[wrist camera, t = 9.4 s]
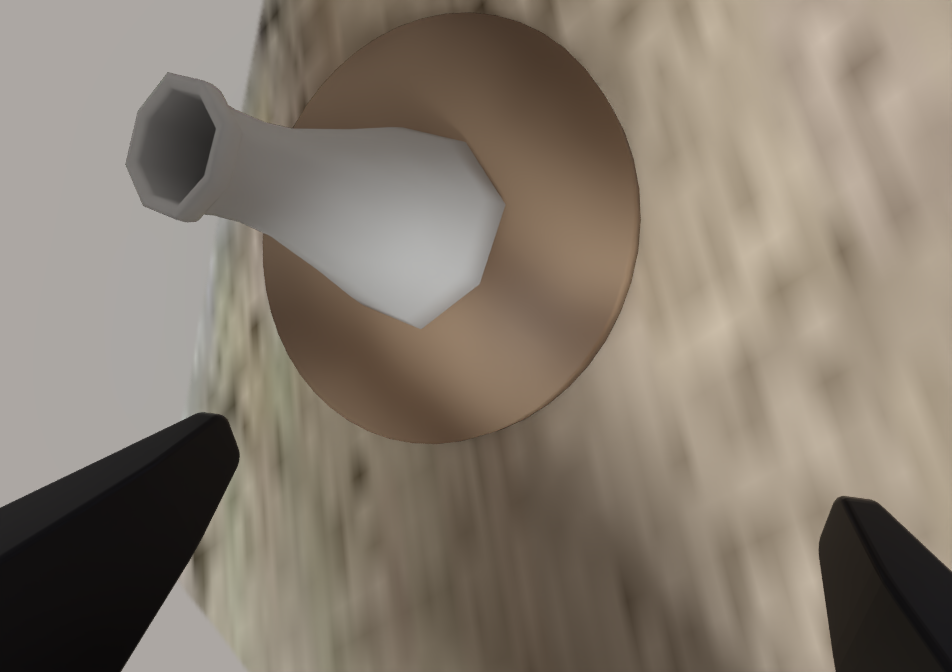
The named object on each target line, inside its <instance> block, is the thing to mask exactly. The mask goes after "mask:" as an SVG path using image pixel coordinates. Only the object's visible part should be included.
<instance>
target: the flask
mask: <svg viewBox="0 0 952 672" xmlns="http://www.w3.org/2000/svg"><path fill="white" fill-rule="evenodd" d="M125 165H126V167H127V169H128V172H129V174H130V176H131V178H132V181H133V183H134V186H135V188H136V190H137V193H138V195H139V197H140V200H141V202H142V204H143V206H145V207H147V208H150V209H152V210H154V211H157V212H159V213H162V214H164V215H167V216H169V217H172V218H174V219H176V220H180V221H183V222H196V221H198V220H199V219H200V218H201V217H202V216H203V215H204V214H205V215H215V216H218V217H222V218H226V219H230V220H234V221H238V222H241V223H243V224H245V225H247V226H249V227H251V228H254V229H256V230H258V231H260V232H262V233H264V234H267V235H269V236H271V237H272V238H274V239H275V240H276V241H278V242H279V243H281V244H282V245H283V246H285V247H286V248H288V249H289V250H290V251H292V252H293V253H295V254H296V255H297V256H299V257H300V258H302V259H303V260H304V261H306V262H307V263H309V264H310V265H311V266H313V267H314V268H316V269H317V270H318V271H320V272H321V273H322V274H323V275H325V276H326V277H327V278H328V279H330V280H331V281H332V282H333V283H335V284H336V285H337V286H338V287H340V288H341V289H342V290H343V291H345V292H346V293H347V294H348V295H350V296H351V297H352V298H354V299H355V300H356V301H358V302H359V303H360V304H362V305H364V306H366V307H369V308H371V309H373V310H376V311H378V312H381V313H383V314H385V315H388V316H390V317H392V318H395V319H397V320H400V321H402V322H404V323H407V324H409V325H412V326H414V327H416V328H419V329H422V328H424V327H425V326H426V325H427V324H429V323H430V322H431V321H433V320H434V319H435V318H436V317H438V316H439V315H440V314H442V313H443V312H444V311H445V310H447V309H448V308H449V307H451V306H452V305H453V304H455V303H456V302H457V301H458V300H460V299H461V298H462V297H464V296H465V295H466V294H467V293H469V292H470V291H471V290H473V289H474V288H475V287H476V286H478V285H479V284H480V281H481V278H482V275H483V272H484V269H485V266H486V263H487V260H488V257H489V254H490V251H491V248H492V245H493V242H494V238H495V235H496V232H497V229H498V226H499V223H500V220H501V217H502V214H503V211H504V208H505V205H506V204H505V203H504V201H503V200H502V198H501V196H500V195H499V193H498V192H497V190H496V189H495V187H494V186H493V184H492V182H491V181H490V179H489V178H488V176H487V175H486V173H485V171H484V170H483V168H482V167H481V165H480V164H479V162H478V161H477V159H476V157H475V156H474V154H473V153H472V151H471V150H470V148H469V147H468V145H467V143H466V142H463V141H459V140H455V139H450V138H446V137H442V136H438V135H433V134H429V133H425V132H420V131H416V130H412V129H408V128H403V127H384V128H365V129H293V128H288V127H284V126H279V125H275V124H270V123H266V122H263V121H261V120H259V119H256V118H254V117H252V116H249V115H247V114H245V113H242V112H240V111H238V110H235V109H234V108H232V107H230V106H229V105H228V104H227V102H226V100H225V98H224V96H223V94H222V92H221V91H220V90H219V89H218V88H216V87H215V86H214V85H213V84H211V83H208V82H205V81H203V80H198V79H194V78H190V77H185V76H181V75H177V74H173V73H169V72H168V73H167V74H166V75H165V77H164V78H163V79H162V81H161V82H160V83H159V84H158V86H157V87H156V88H155V89H154V91H153V92H152V94H151V95H150V96H149V97H148V99H147V100H146V101H145V103H144V104H143V105H142V107H141V108H140V109H139V110H138V113H137V117H136V121H135V125H134V130H133V134H132V138H131V142H130V147H129V151H128V156H127V160H126V164H125Z"/></svg>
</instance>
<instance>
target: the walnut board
mask: <svg viewBox="0 0 952 672" xmlns="http://www.w3.org/2000/svg"><path fill="white" fill-rule="evenodd" d="M384 127H403V128H408V129H412V130H416V131H420V132H425V133H429V134H433V135H438V136H442V137H446V138H450V139H455V140H459V141H463V142H466V143H467V145H468V147H469V148H470V150H471V151H472V153H473V154H474V156H475V157H476V159H477V161H478V162H479V164H480V165H481V167H482V168H483V170H484V171H485V173H486V175H487V176H488V178H489V179H490V181H491V182H492V184H493V186H494V187H495V189H496V190H497V192H498V193H499V195H500V196H501V198H502V200H503V201H504V203H505V204H506V205H505V208H504V211H503V214H502V217H501V220H500V223H499V226H498V229H497V232H496V235H495V238H494V242H493V245H492V248H491V251H490V254H489V257H488V260H487V263H486V266H485V269H484V272H483V275H482V278H481V281H480V284H479V285H478V286H476V287H475V288H474V289H473V290H471V291H470V292H469V293H467V294H466V295H465V296H464V297H462V298H461V299H460V300H458V301H457V302H456V303H455V304H453V305H452V306H451V307H449V308H448V309H447V310H445V311H444V312H443V313H442V314H440V315H439V316H438V317H436V318H435V319H434V320H433V321H431V322H430V323H429V324H427V325H426V326H425V327H424V328H422V329H419V328H416V327H414V326H412V325H409V324H407V323H404V322H402V321H400V320H397V319H395V318H392V317H390V316H388V315H385V314H383V313H381V312H378V311H376V310H373V309H371V308H369V307H366V306H364V305H362V304H360V303H359V302H358V301H356V300H355V299H354V298H352V297H351V296H350V295H348V294H347V293H346V292H345V291H343V290H342V289H341V288H340V287H338V286H337V285H336V284H335V283H333V282H332V281H331V280H330V279H328V278H327V277H326V276H325V275H323V274H322V273H321V272H320V271H318V270H317V269H316V268H314V267H313V266H311V265H310V264H309V263H307V262H306V261H304V260H303V259H302V258H300V257H299V256H297V255H296V254H295V253H293V252H292V251H290V250H289V249H288V248H286V247H285V246H283V245H282V244H281V243H279V242H278V241H276V240H275V239H274V238H272V237H271V236H269V235H267V234H264V233H263V268H264V276H265V285H266V291H267V296H268V300H269V305H270V309H271V313H272V316H273V319H274V322H275V325H276V328H277V331H278V334H279V336H280V338H281V340H282V343H283V345H284V347H285V349H286V351H287V353H288V355H289V357H290V359H291V360H292V362H293V363H294V365H295V367H296V368H297V370H298V372H299V373H300V375H301V376H302V377H303V378H304V380H305V381H306V382H307V383H308V385H309V386H310V387H311V388H312V390H313V391H314V392H315V393H316V394H317V395H318V396H319V397H320V398H321V399H322V400H323V401H324V402H325V403H326V404H327V405H328V406H329V407H331V408H332V409H333V410H335V411H336V412H337V413H339V414H340V415H341V416H343V417H344V418H346V419H347V420H348V421H350V422H352V423H354V424H356V425H358V426H360V427H362V428H363V429H365V430H367V431H370V432H372V433H375V434H378V435H381V436H384V437H386V438H389V439H394V440H399V441H404V442H410V443H425V444H440V443H449V442H457V441H463V440H467V439H470V438H474V437H478V436H481V435H485V434H488V433H492V432H495V431H498V430H501V429H504V428H506V427H508V426H510V425H513V424H515V423H517V422H519V421H522V420H524V419H526V418H527V417H529V416H530V415H532V414H534V413H535V412H537V411H538V410H540V409H542V408H543V407H545V406H546V405H548V404H549V403H550V402H551V401H553V400H554V399H555V398H556V397H557V396H559V395H560V394H561V393H562V392H563V391H565V390H566V389H567V388H568V387H569V386H570V385H571V384H572V383H573V382H574V381H575V380H576V379H577V377H578V376H579V375H580V374H581V373H582V372H583V371H584V370H585V369H586V368H587V366H588V365H589V364H590V363H591V361H592V360H593V358H594V357H595V355H596V354H597V353H598V351H599V350H600V348H601V347H602V345H603V344H604V342H605V341H606V339H607V337H608V335H609V334H610V332H611V330H612V328H613V326H614V324H615V322H616V320H617V318H618V316H619V314H620V312H621V309H622V307H623V304H624V301H625V298H626V295H627V293H628V290H629V287H630V284H631V281H632V276H633V272H634V267H635V263H636V258H637V254H638V245H639V234H640V222H641V217H640V196H639V185H638V180H637V175H636V169H635V164H634V159H633V156H632V153H631V150H630V147H629V144H628V141H627V138H626V135H625V132H624V130H623V128H622V126H621V124H620V122H619V120H618V118H617V116H616V115H615V113H614V111H613V109H612V107H611V105H610V103H609V102H608V100H607V99H606V97H605V96H604V94H603V93H602V91H601V90H600V88H599V87H598V86H597V84H596V83H595V82H594V80H593V79H592V77H591V76H590V75H589V73H588V72H587V71H586V69H585V68H584V67H583V66H582V65H581V64H580V63H579V62H578V61H577V60H576V59H575V58H574V57H573V56H572V55H571V54H570V53H569V52H568V51H567V50H566V49H565V48H563V47H562V46H560V45H559V44H558V43H556V42H555V41H553V40H552V39H550V38H549V37H548V36H546V35H545V34H543V33H541V32H539V31H537V30H535V29H533V28H531V27H529V26H527V25H524V24H522V23H520V22H517V21H514V20H510V19H507V18H503V17H499V16H496V15H488V14H479V13H450V14H442V15H437V16H432V17H427V18H422V19H419V20H416V21H413V22H411V23H408V24H405V25H402V26H399V27H397V28H395V29H393V30H391V31H389V32H387V33H385V34H383V35H381V36H379V37H377V38H376V39H374V40H373V41H371V42H370V43H369V44H367V45H366V46H364V47H363V48H361V49H360V50H358V51H357V52H356V53H354V54H353V55H352V56H351V57H350V58H349V59H347V60H346V61H345V62H344V63H343V64H342V65H340V66H339V67H338V68H337V69H336V70H335V71H334V73H333V74H332V75H331V76H330V77H329V78H328V79H327V80H326V81H325V82H324V83H323V84H322V85H321V87H320V88H319V89H318V91H317V92H316V93H315V95H314V96H313V97H312V99H311V100H310V101H309V103H308V104H307V105H306V107H305V109H304V110H303V112H302V114H301V115H300V117H299V119H298V120H297V122H296V124H295V125H294V127H293V129H365V128H384Z"/></svg>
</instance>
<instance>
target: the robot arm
mask: <svg viewBox="0 0 952 672" xmlns="http://www.w3.org/2000/svg"><path fill="white" fill-rule="evenodd" d="M239 457H240V454H239V449H238V446H237V443H236V441H235V438H234V435H233V432H232V430H231V427H230V424H229V422H228V420H227V419H226V418H225V417H224V416H223V415H220V414H213V413H205V412H202V413H197V414H195V415H192V416H190V417H188V418H186V419H184V420H182V421H180V422H178V423H176V424H174V425H172V426H170V427H167V428H165V429H163V430H161V431H159V432H157V433H155V434H153V435H151V436H149V437H147V438H145V439H142V440H140V441H138V442H136V443H134V444H132V445H130V446H128V447H126V448H124V449H122V450H120V451H118V452H116V453H114V454H112V455H109V456H107V457H105V458H103V459H101V460H99V461H97V462H95V463H93V464H90V465H89V466H86V467H84V468H83V469H80V470H78V471H76V472H74V473H72V474H70V475H68V476H66V477H63V478H61V479H59V480H57V481H55V482H53V483H51V484H49V485H47V486H45V487H43V488H40V489H38V490H36V491H34V492H32V493H30V494H28V495H26V496H24V497H22V498H20V499H18V500H15V501H13V502H11V503H9V504H7V505H5V506H3V507H1V508H0V672H121V671H122V669H123V667H124V666H125V664H126V662H127V661H128V659H129V658H130V656H131V654H132V653H133V651H134V650H135V648H136V646H137V645H138V643H139V642H140V640H141V638H142V637H143V635H144V634H145V632H146V630H147V629H148V627H149V625H150V624H151V622H152V621H153V619H154V617H155V616H156V614H157V612H158V611H159V609H160V607H161V606H162V604H163V603H164V601H165V599H166V598H167V596H168V594H169V593H170V591H171V590H172V588H173V586H174V585H175V583H176V582H177V580H178V578H179V577H180V575H181V574H182V572H183V570H184V569H185V567H186V565H187V564H188V562H189V561H190V559H191V557H192V555H193V554H194V552H195V550H196V549H197V547H198V545H199V543H200V541H201V539H202V537H203V535H204V533H205V531H206V529H207V527H208V525H209V523H210V521H211V519H212V517H213V515H214V513H215V511H216V509H217V507H218V505H219V503H220V501H221V499H222V497H223V495H224V493H225V491H226V489H227V487H228V485H229V483H230V481H231V479H232V477H233V475H234V473H235V471H236V469H237V466H238V463H239ZM819 560H820V567H821V574H822V581H823V588H824V595H825V602H826V609H827V616H828V623H829V630H830V638H831V645H832V652H833V658H834V664H835V670H836V672H952V571H951V570H950V569H948V568H947V567H946V566H945V565H944V564H943V563H942V562H941V561H940V560H939V559H938V558H937V557H936V556H935V555H934V554H932V553H931V552H930V551H929V550H928V549H927V548H926V547H925V546H924V545H923V544H922V543H921V542H920V541H919V540H918V539H916V538H915V537H914V536H913V535H912V534H911V533H910V532H909V531H908V530H907V529H906V528H905V527H904V526H903V525H902V524H901V523H899V522H898V521H897V520H896V519H895V518H894V517H893V516H892V515H891V514H890V513H889V512H888V511H887V510H886V509H885V508H883V507H882V506H881V505H880V504H879V503H877V502H876V501H873V500H870V499H863V498H856V497H848V496H841V497H838V498H837V499H836V500H835V501H834V503H833V505H832V508H831V511H830V513H829V516H828V518H827V521H826V523H825V526H824V529H823V531H822V534H821V537H820V541H819Z"/></svg>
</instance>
